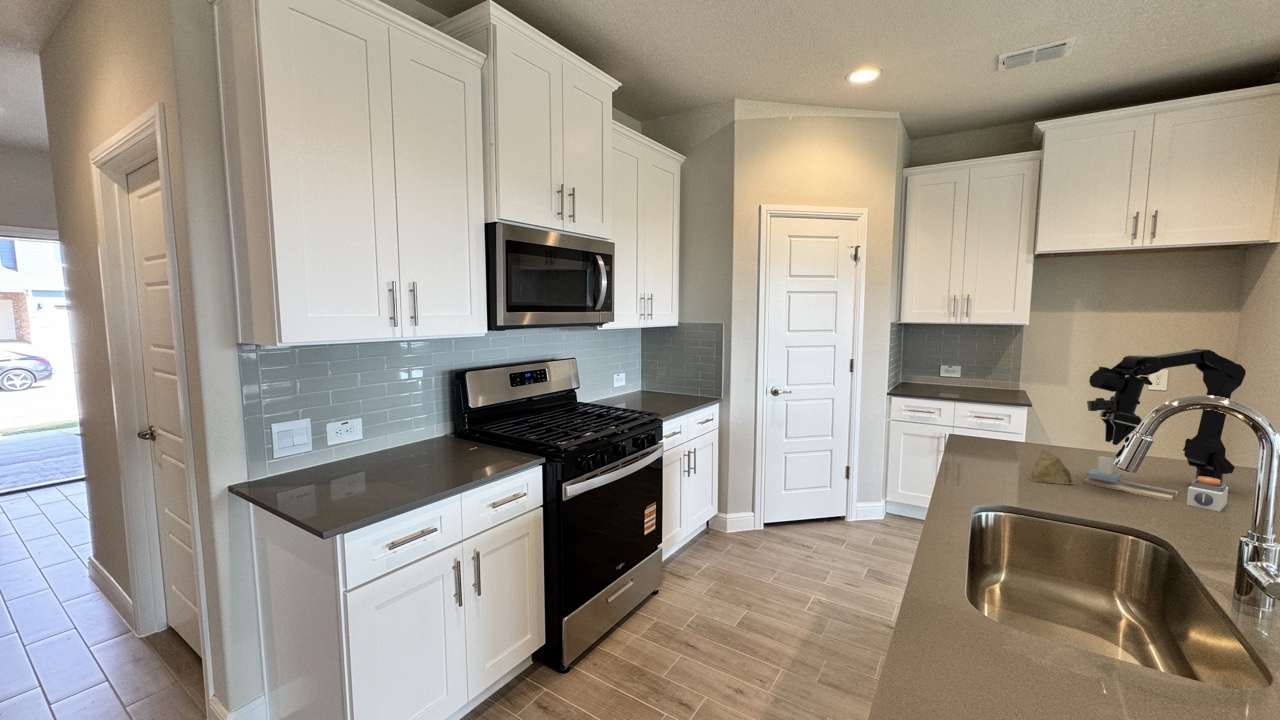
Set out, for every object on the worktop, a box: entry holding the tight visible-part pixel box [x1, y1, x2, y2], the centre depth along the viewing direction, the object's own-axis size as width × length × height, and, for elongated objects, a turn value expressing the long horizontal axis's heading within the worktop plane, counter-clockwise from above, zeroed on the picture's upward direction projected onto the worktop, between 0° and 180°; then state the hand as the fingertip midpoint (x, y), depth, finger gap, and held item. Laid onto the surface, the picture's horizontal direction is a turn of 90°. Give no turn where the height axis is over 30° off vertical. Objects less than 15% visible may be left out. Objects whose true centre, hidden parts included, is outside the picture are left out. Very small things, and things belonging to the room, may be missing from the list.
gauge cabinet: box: [1186, 478, 1229, 513], centre depth 148 cm, size 10×6×6 cm, turn 124°
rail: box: [1082, 476, 1180, 502], centre depth 162 cm, size 10×20×2 cm, turn 34°
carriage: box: [1086, 455, 1124, 482], centre depth 166 cm, size 8×7×6 cm
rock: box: [1030, 450, 1074, 485], centre depth 167 cm, size 11×9×10 cm
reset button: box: [1197, 476, 1221, 486], centre depth 147 cm, size 4×4×1 cm
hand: (1110, 443), depth 162 cm, fingers open, 9 cm apart
